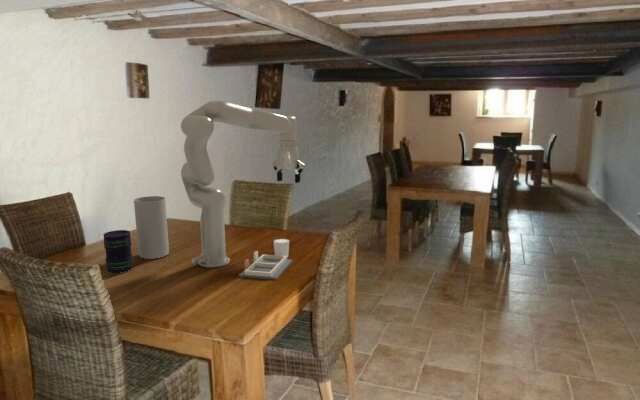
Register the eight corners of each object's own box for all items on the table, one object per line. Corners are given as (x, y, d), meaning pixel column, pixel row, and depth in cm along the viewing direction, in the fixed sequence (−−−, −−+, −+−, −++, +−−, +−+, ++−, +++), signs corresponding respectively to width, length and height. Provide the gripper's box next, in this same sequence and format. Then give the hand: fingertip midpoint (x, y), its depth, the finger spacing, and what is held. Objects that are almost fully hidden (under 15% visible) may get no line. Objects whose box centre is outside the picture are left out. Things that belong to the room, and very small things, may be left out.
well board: (276, 279, 174) (276, 267, 173) (238, 276, 177) (238, 264, 176) (292, 261, 194) (292, 250, 193) (258, 259, 197) (258, 248, 196)
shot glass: (287, 259, 197) (287, 243, 195) (271, 258, 198) (271, 242, 196) (291, 254, 203) (291, 239, 202) (276, 253, 204) (276, 238, 203)
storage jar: (104, 275, 180) (100, 237, 177) (108, 266, 189) (105, 231, 186) (132, 272, 182) (128, 235, 179) (135, 264, 191) (131, 229, 188)
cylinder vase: (132, 257, 200) (127, 200, 195) (154, 249, 211) (150, 195, 206) (153, 261, 195) (148, 203, 190) (175, 253, 206) (171, 197, 201)
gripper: (267, 143, 211) (268, 181, 214) (300, 145, 202) (300, 184, 205) (277, 142, 217) (277, 179, 220) (309, 144, 209) (309, 182, 212)
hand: (288, 181), depth 213 cm, fingers open, 9 cm apart
